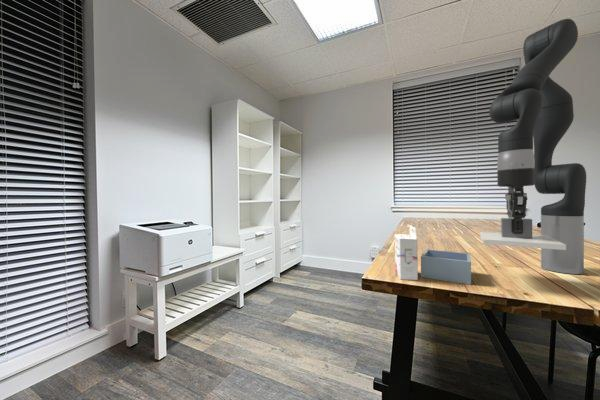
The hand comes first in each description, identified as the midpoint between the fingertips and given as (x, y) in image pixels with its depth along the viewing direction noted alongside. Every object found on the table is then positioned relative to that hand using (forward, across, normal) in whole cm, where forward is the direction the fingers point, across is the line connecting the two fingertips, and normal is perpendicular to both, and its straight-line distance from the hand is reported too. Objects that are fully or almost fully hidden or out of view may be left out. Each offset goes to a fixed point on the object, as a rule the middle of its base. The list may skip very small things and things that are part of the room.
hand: (516, 232), depth 66 cm
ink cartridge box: (+13, -9, +26) cm, 31 cm away
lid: (+2, 0, 0) cm, 2 cm away
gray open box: (+13, -2, +16) cm, 21 cm away
